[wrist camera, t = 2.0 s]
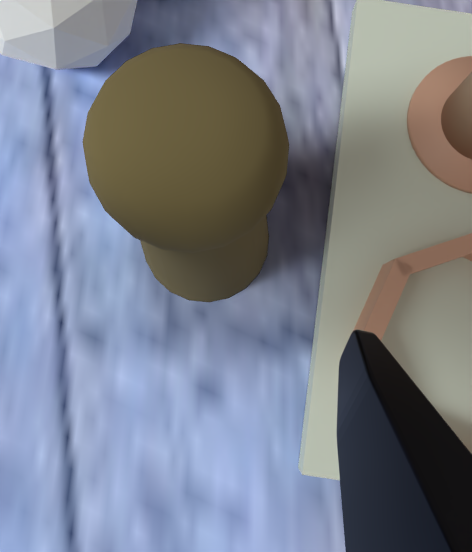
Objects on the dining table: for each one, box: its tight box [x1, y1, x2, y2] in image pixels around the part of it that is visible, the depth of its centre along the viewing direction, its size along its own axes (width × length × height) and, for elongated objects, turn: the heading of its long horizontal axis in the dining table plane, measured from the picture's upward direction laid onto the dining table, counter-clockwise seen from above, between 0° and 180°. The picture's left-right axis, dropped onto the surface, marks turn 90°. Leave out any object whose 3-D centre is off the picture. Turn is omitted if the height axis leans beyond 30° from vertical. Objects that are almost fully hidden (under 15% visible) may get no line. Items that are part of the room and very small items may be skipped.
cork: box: [83, 43, 289, 302], centre depth 15 cm, size 6×6×11 cm
